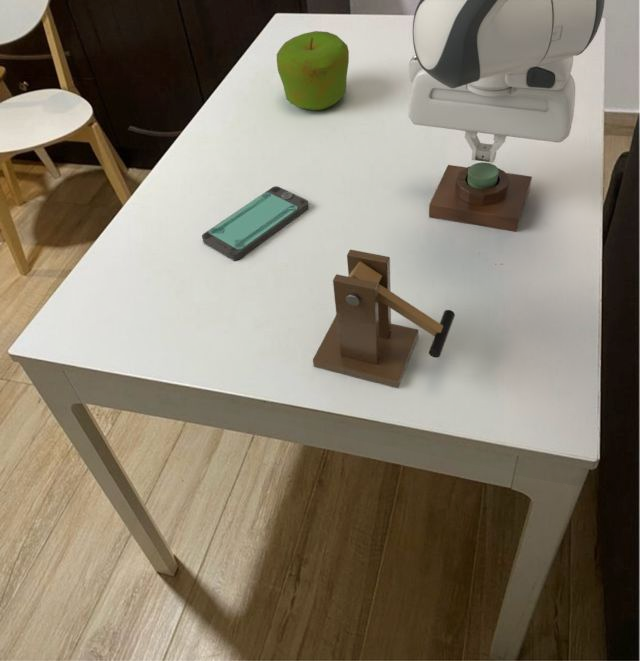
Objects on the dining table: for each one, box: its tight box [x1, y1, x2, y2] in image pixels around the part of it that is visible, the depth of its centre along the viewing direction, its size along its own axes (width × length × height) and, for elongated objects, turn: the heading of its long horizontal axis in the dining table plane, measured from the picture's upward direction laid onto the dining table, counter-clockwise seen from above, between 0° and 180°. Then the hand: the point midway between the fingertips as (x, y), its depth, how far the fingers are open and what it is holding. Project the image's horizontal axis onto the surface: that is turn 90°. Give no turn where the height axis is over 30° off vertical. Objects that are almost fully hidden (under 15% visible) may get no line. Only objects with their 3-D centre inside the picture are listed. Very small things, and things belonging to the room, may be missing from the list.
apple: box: [276, 30, 350, 112], centre depth 113 cm, size 12×12×11 cm
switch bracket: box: [312, 249, 420, 389], centre depth 71 cm, size 10×8×13 cm
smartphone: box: [201, 185, 310, 261], centre depth 93 cm, size 7×1×15 cm
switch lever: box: [347, 261, 456, 359], centre depth 68 cm, size 12×6×2 cm
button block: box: [428, 164, 533, 232], centre depth 91 cm, size 12×10×4 cm
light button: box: [467, 161, 499, 189], centre depth 89 cm, size 4×4×2 cm
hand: (483, 159), depth 87 cm, fingers closed
